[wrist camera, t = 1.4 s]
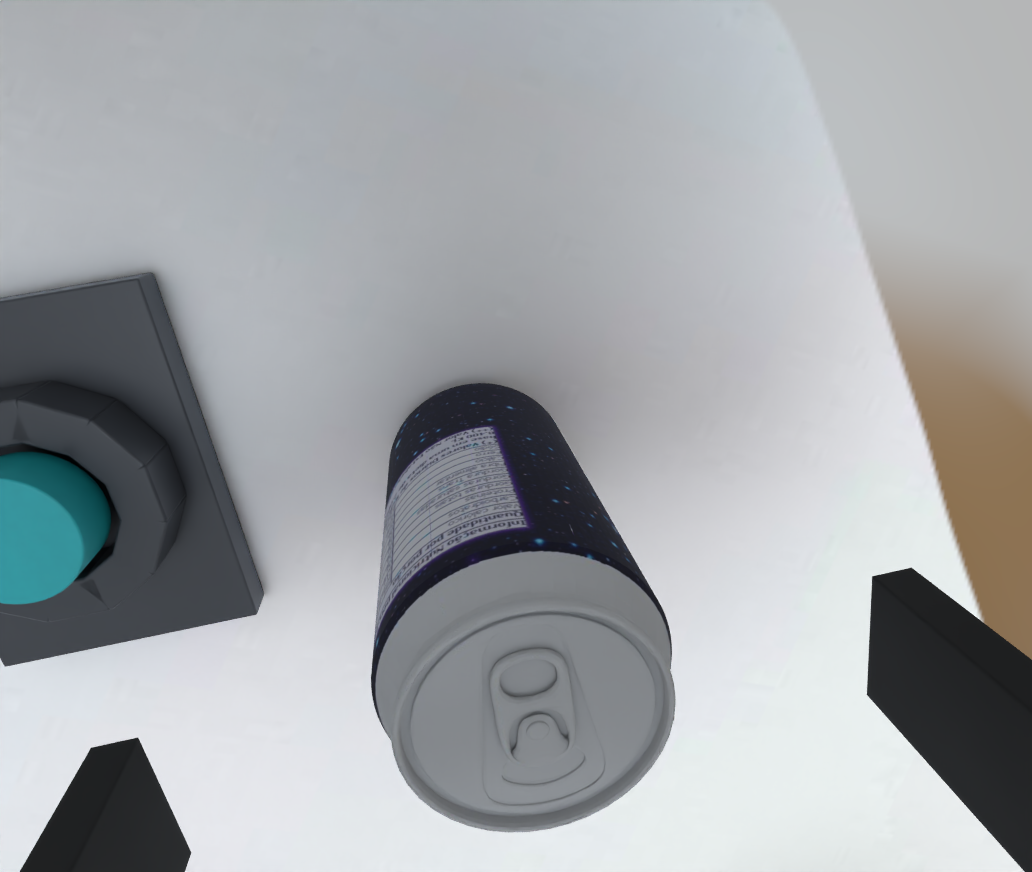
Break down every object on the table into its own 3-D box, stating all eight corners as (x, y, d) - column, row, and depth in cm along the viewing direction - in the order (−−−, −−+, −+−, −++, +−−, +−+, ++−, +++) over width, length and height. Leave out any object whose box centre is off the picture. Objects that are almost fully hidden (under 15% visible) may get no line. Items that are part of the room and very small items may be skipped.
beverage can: (408, 546, 23) (404, 880, 12) (373, 392, 21) (329, 625, 10) (568, 515, 24) (704, 810, 13) (549, 361, 22) (691, 552, 11)
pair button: (-59, 465, 18) (-107, 494, 16) (82, 439, 18) (49, 464, 16) (0, 580, 19) (-38, 618, 17) (131, 554, 19) (105, 589, 18)
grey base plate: (-144, 321, 19) (-241, 347, 16) (153, 272, 19) (110, 287, 16) (24, 643, 23) (-31, 708, 20) (265, 594, 23) (244, 650, 21)
